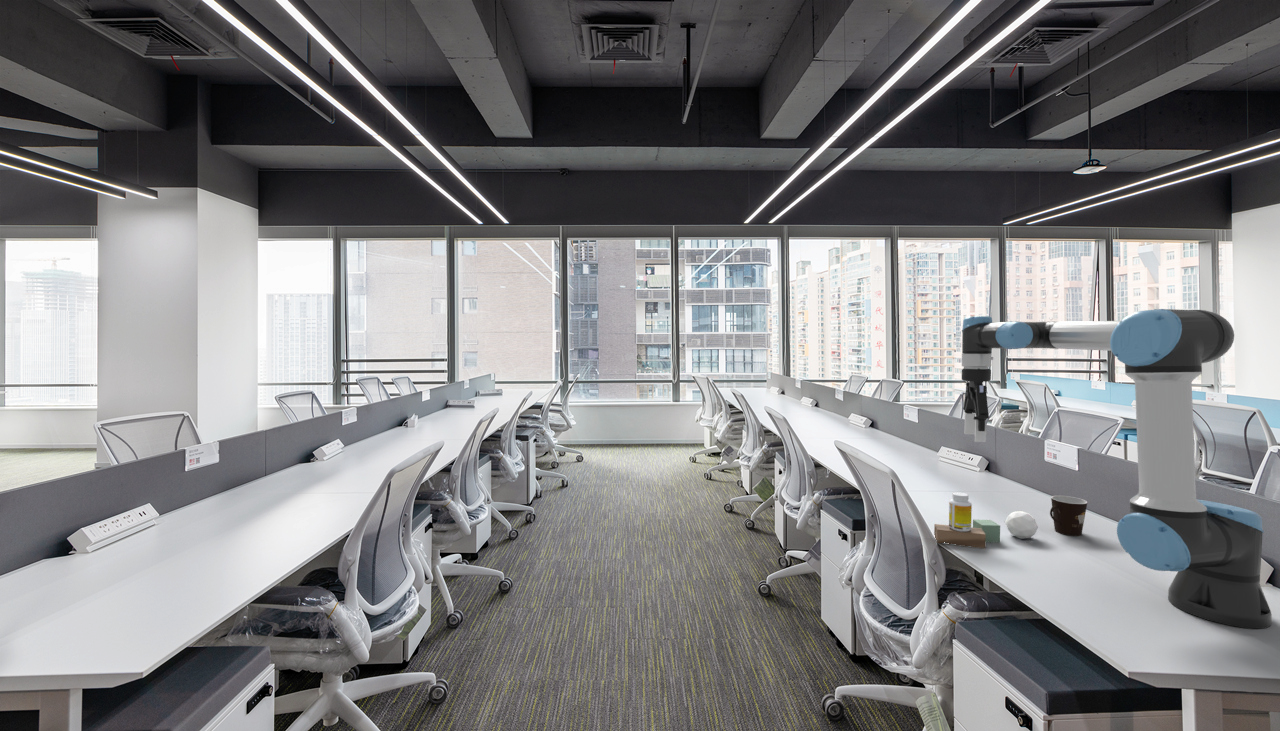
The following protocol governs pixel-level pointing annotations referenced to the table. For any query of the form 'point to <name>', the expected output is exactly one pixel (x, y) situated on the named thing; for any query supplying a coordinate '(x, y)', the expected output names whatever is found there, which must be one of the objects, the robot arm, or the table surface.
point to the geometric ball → (1021, 524)
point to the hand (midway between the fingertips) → (974, 438)
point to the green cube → (988, 529)
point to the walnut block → (960, 536)
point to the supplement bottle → (960, 512)
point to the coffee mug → (1068, 514)
